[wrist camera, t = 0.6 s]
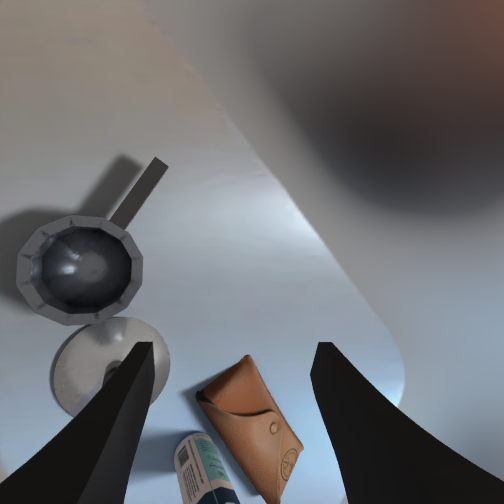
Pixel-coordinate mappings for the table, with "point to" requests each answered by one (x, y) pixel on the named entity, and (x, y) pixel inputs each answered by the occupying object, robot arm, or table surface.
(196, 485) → the white labeled canister
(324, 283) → the table surface
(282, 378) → the table surface
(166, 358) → the lid
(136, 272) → the saucepan
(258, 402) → the sunglasses case
